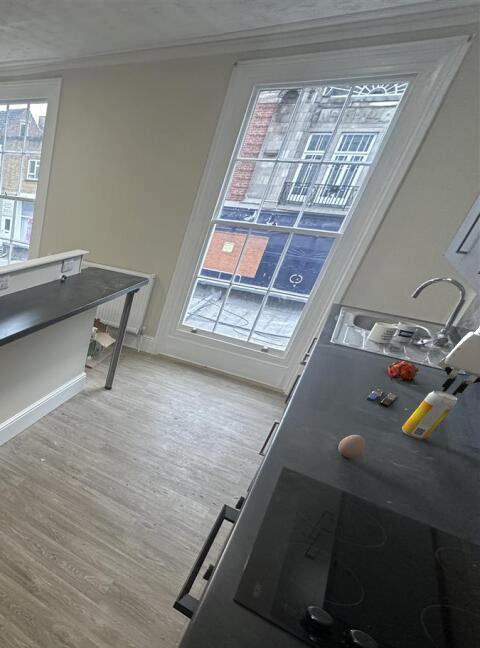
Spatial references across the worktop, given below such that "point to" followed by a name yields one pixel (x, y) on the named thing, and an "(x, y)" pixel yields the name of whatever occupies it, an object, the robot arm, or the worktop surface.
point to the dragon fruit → (403, 371)
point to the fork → (375, 395)
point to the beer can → (429, 414)
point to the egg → (352, 446)
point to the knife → (388, 400)
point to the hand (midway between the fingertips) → (449, 391)
